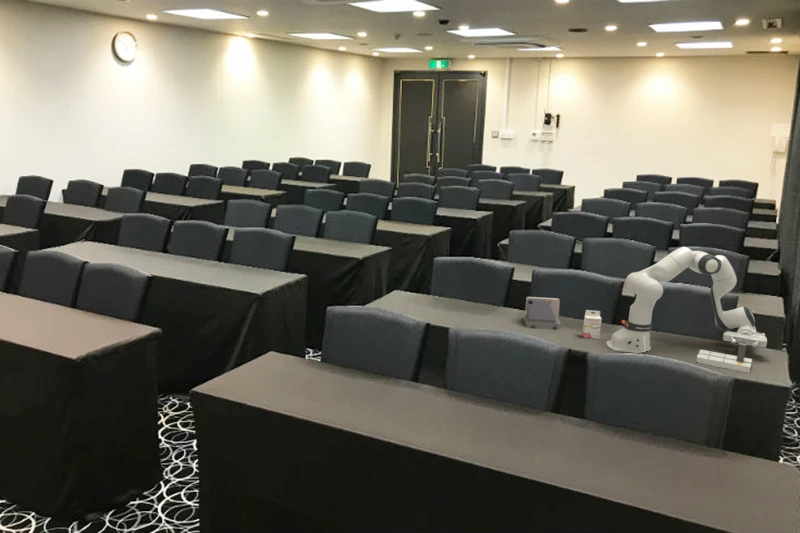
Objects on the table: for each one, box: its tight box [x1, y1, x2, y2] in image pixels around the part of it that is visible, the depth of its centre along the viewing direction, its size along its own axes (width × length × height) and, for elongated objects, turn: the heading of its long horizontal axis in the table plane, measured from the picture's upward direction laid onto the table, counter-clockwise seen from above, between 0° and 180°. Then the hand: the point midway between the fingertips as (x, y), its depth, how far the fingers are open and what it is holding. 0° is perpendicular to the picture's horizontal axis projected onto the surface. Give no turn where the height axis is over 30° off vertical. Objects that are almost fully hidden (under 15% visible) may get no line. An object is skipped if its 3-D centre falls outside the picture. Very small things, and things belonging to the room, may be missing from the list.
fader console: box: [695, 348, 753, 374], centre depth 344 cm, size 24×14×3 cm, turn 60°
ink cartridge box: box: [582, 309, 603, 340], centre depth 376 cm, size 9×5×15 cm, turn 84°
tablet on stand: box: [523, 296, 562, 330], centre depth 396 cm, size 21×21×15 cm
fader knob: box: [736, 340, 747, 362], centre depth 339 cm, size 3×4×12 cm
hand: (743, 343), depth 347 cm, fingers open, 8 cm apart
